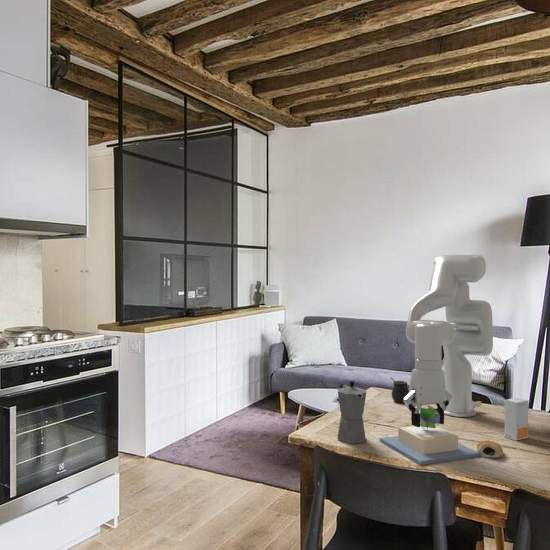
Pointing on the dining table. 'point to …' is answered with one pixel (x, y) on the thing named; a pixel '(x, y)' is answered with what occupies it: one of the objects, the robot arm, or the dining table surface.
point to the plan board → (429, 457)
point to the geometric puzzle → (429, 417)
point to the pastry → (489, 449)
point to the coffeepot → (351, 414)
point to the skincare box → (516, 419)
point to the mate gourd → (399, 391)
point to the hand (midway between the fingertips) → (427, 424)
